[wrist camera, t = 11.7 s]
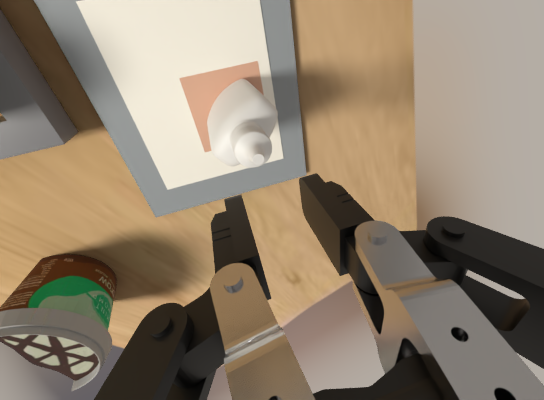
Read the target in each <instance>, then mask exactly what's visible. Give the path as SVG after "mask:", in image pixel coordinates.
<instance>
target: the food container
mask: <svg viewBox="0 0 544 400" xmlns="http://www.w3.org/2000/svg"><path fill="white" fill-rule="evenodd" d="M116 281H117V278H116V276H115V274H114V272H113V271H112V269H111V268H110V267H108V266H107V265H106V264H104V263H103V262H101V261H98V260H96V259H93V258H90V257H86V256H82V255H70V254H64V255H55V256H49V257H46V258H43V259H41V260H40V262H39V263H38V264H37V265H36V266H35V267H34V269H33V270H32V271H31V272H30V273H29V274H28V276H27V277H26V278H25V279H24V280H23V281H22V283H21V284H20V285H19V286H18V287H17V288H16V290H15V291H14V292H13V293H12V294H11V295H10V297H9V298H8V299H7V300H6V301H5V302H4V304H3V305H2V306H1V307H0V342H2V343H4V344H5V345H7V346H9V347H11V348H13V349H14V350H15V351H16V352H18V353H19V354H20V355H21V356H23V357H24V358H25V359H26V360H28V361H29V362H31V363H32V364H34V365H37V366H40V367H44V368H48V369H52V370H55V371H58V372H60V373H62V374H64V375H66V376H68V377H70V378H71V379H73V380H74V383H73V387H72V391H73V390H75V389H78V388H80V387H82V386H83V385H85V384H87V383H88V382H89V381H91V380H92V379H93V378H94V377H95V376H96V374H97V373H98V371H99V370H100V369H101V368H102V366H103V364H104V362H105V360H106V358H107V356H108V354H109V352H110V350H111V347H112V339H111V336H110V334H109V332H108V327H109V322H110V316H111V311H112V306H113V301H114V295H115V290H116Z"/></svg>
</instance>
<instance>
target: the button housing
mask: <svg viewBox="0 0 544 400" xmlns="http://www.w3.org/2000/svg"><path fill="white" fill-rule="evenodd" d="M0 113H1V114H2V115H3V116H1V117H0V159H4V158H8V157H13V156H17V155H21V154H25V153H29V152H34V151H38V150H42V149H46V148H50V147H55V146H59V145H63V144H65V143H66V142H68V141H69V140H70V139H71V138H72V137H73V136H74V135H75V134H77V133H78V131H77V129H76V128H75V126H74V124H73V123H72V121H71V120H70V118H69V117H68V115H67V113H66V112H65V110H64V109H63V107H62V105H61V104H60V102H59V101H58V99H57V98H56V96H55V94H54V93H53V91H52V90H51V88H50V87H49V85H48V83H47V82H46V80H45V79H44V77H43V75H42V74H41V72H40V71H39V69H38V68H37V66H36V64H35V63H34V61H33V60H32V58H31V56H30V55H29V53H28V52H27V50H26V49H25V47H24V45H23V44H22V42H21V41H20V39H19V38H18V36H17V34H16V33H15V31H14V30H13V28H12V26H11V25H10V23H9V22H8V20H7V19H6V17H5V15H4V14H3V12H2V11H1V9H0Z"/></svg>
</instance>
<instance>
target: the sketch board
mask: <svg viewBox="0 0 544 400" xmlns="http://www.w3.org/2000/svg"><path fill="white" fill-rule="evenodd" d="M34 1H35V3H36V5H37V7H38V8H39V10H40V12H41V14H42V15H43V17H44V19H45V21H46V23H47V24H48V26H49V28H50V30H51V32H52V33H53V35H54V37H55V39H56V40H57V42H58V44H59V46H60V48H61V49H62V51H63V53H64V55H65V56H66V58H67V60H68V62H69V64H70V65H71V67H72V69H73V71H74V72H75V74H76V76H77V78H78V80H79V81H80V83H81V85H82V87H83V88H84V90H85V92H86V94H87V96H88V97H89V99H90V101H91V103H92V104H93V106H94V108H95V110H96V112H97V113H98V115H99V117H100V119H101V121H102V122H103V124H104V126H105V128H106V129H107V131H108V133H109V135H110V137H111V138H112V140H113V142H114V144H115V145H116V147H117V149H118V151H119V153H120V154H121V156H122V158H123V160H124V161H125V163H126V165H127V167H128V169H129V170H130V172H131V174H132V176H133V177H134V179H135V181H136V183H137V185H138V186H139V188H140V190H141V192H142V193H143V195H144V197H145V199H146V201H147V202H148V204H149V206H150V208H151V210H152V211H153V213H154V215H155V217H159V216H163V215H166V214H170V213H173V212H177V211H180V210H184V209H188V208H191V207H195V206H198V205H202V204H205V203H209V202H212V201H216V200H220V199H223V198H227V197H230V196H234V195H237V194H241V193H245V192H248V191H252V190H255V189H259V188H262V187H266V186H269V185H273V184H277V183H280V182H284V181H287V180H291V179H294V178H298V177H301V176H305V175H306V165H305V155H304V145H303V134H302V124H301V113H300V103H299V93H298V82H297V72H296V61H295V51H294V41H293V30H292V20H291V9H290V0H34ZM239 79H245V80H247V81H248V82H250V83H251V84H252V85H253V86H254V87H255V88H256V89H257V90H258V91H259V92H260V93H262V94H263V95H264V96H265V97H266V98H267V99H268V100H269V101H270V102H271V103H272V104H273V105H274V106H275V108H276V110H277V112H278V117H277V121H276V124H275V127H274V130H273V132H272V134H271V136H270V140H271V142H272V143H271V144H272V153H271V156H270V158H269V159H268V161H267V162H265V163H264V164H263V165H261V166H259V167H255V168H254V167H253V168H250V167H249V168H248V167H245V166H243V165H241V164H239V165H237V166H228V165H227V164H225V163H223V162H222V161H220V160H219V159H218V158H217V157H215V156H214V154H213V153H212V150H211V146H210V140H209V133H208V126H207V119H208V115H209V112H210V110H211V107H212V105H213V103H214V101H215V100H216V98H217V97H218V96H219V94H220V93H221V92H222V91H223V90H224V89H225V88H226V87H228V86H229V85H230V84H232V83H233V82H235V81H237V80H239Z"/></svg>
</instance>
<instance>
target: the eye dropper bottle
mask: <svg viewBox="0 0 544 400" xmlns="http://www.w3.org/2000/svg"><path fill="white" fill-rule="evenodd" d="M277 117H278V112H277V110H276V108H275V106H274V105H273V104H272V103H271V102H270V101H269V100H268V99H267V98H266V97H265V96H264V95H263V94H262V93H260V92H259V91H258V90H257V89H256V88H255V87H254V86H253V85H252V84H251V83H250V82H248V81H247V80H245V79H239V80H237V81H235V82H233V83H232V84H230V85H229V86H228V87H226V88H225V89H224V90H223V91H222V92H221V93H220V94H219V96H218V97H217V98H216V100H215V101H214V103H213V105H212V107H211V110H210V112H209V115H208V119H207V126H208V133H209V140H210V146H211V150H212V153H213V154H214V156H215V157H217V158H218V159H219V160H220V161H222V162H223V163H225V164H227V165H228V166H237V165H239V164H241V165H243V166H245V167H248V168H249V167H250V168H253V167H254V168H255V167H259V166H261V165H263V164H264V163H265V162H267V161H268V159H269V158H270V156H271V153H272V144H271V143H272V142H271V140H270V136H271V134H272V132H273V130H274V127H275V124H276V121H277Z"/></svg>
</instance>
